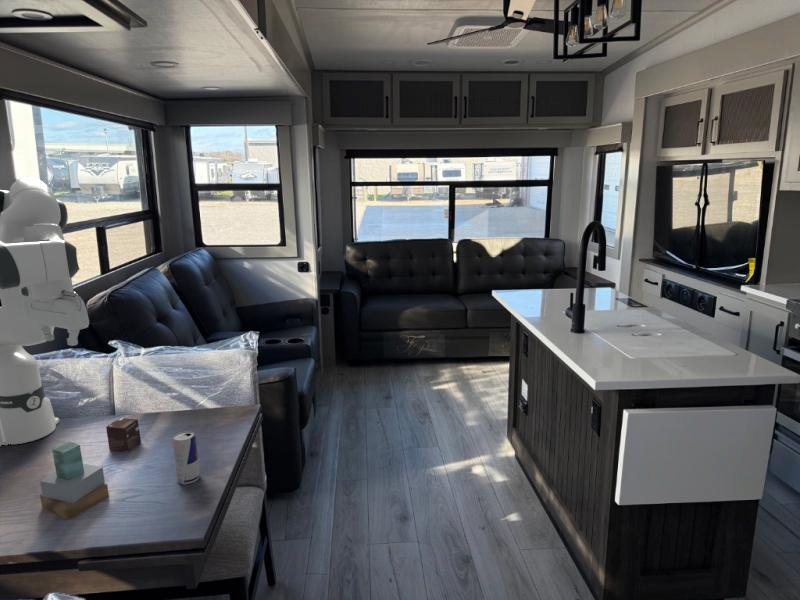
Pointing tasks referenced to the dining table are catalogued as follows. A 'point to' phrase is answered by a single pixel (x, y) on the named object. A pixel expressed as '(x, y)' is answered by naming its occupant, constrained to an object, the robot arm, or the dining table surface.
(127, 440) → the box
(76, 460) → the block
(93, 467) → the tower top
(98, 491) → the tower base
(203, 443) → the dining table surface
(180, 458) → the energy drink
